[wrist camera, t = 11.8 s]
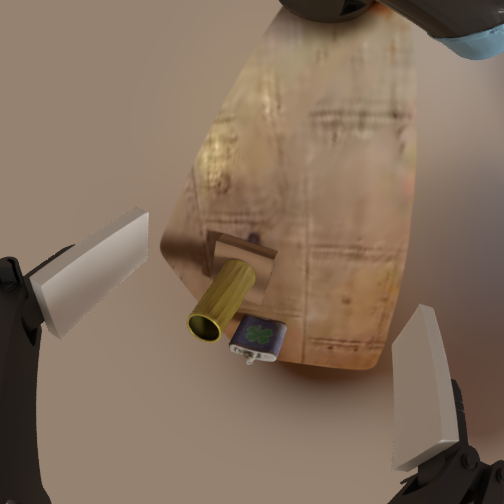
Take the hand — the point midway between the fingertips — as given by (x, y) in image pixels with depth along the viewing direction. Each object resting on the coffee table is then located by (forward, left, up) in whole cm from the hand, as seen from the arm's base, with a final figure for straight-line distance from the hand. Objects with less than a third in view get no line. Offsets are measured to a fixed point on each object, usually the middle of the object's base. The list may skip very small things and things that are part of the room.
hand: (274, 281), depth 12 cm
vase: (+22, -8, -29) cm, 37 cm away
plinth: (+22, -8, -32) cm, 39 cm away
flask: (+34, -1, -32) cm, 46 cm away
